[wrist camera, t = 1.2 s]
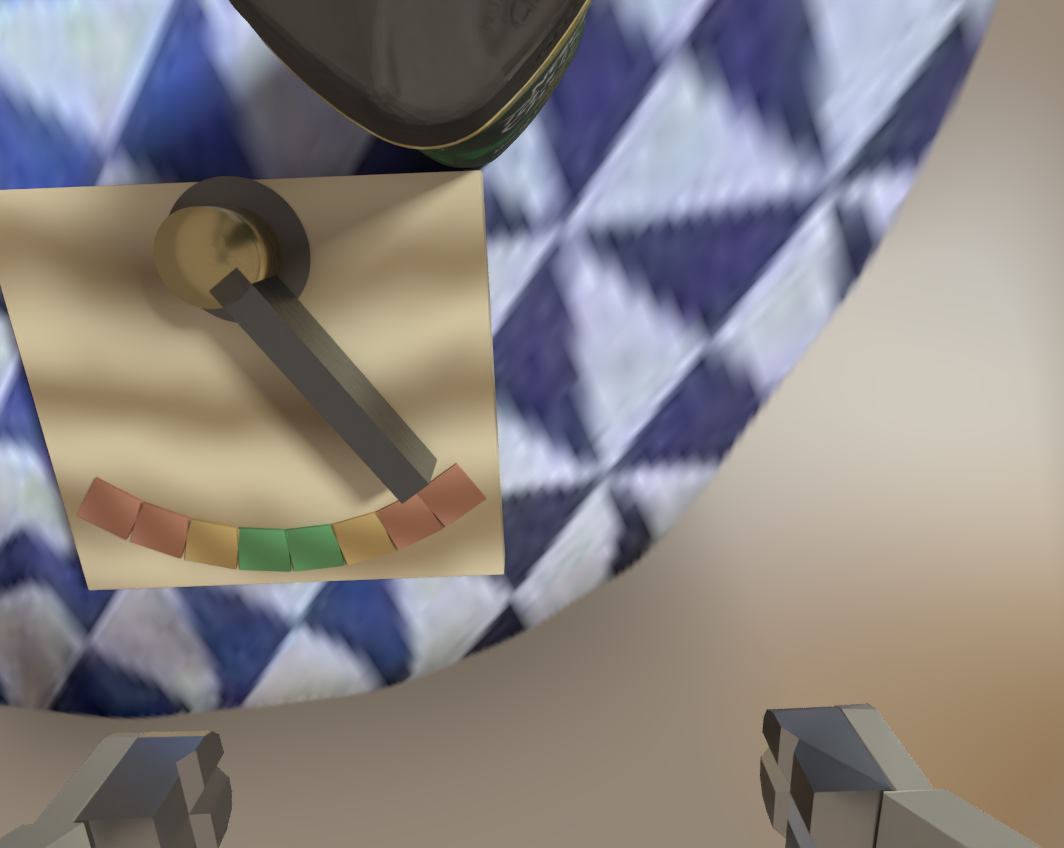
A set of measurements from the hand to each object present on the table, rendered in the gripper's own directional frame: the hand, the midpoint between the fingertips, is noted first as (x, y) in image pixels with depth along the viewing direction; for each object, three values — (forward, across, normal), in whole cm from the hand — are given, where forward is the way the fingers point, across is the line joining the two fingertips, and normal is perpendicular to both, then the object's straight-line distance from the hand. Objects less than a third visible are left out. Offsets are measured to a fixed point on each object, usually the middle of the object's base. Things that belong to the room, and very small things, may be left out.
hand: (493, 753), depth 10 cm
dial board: (+25, +12, 0) cm, 28 cm away
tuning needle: (+23, +9, -2) cm, 25 cm away
